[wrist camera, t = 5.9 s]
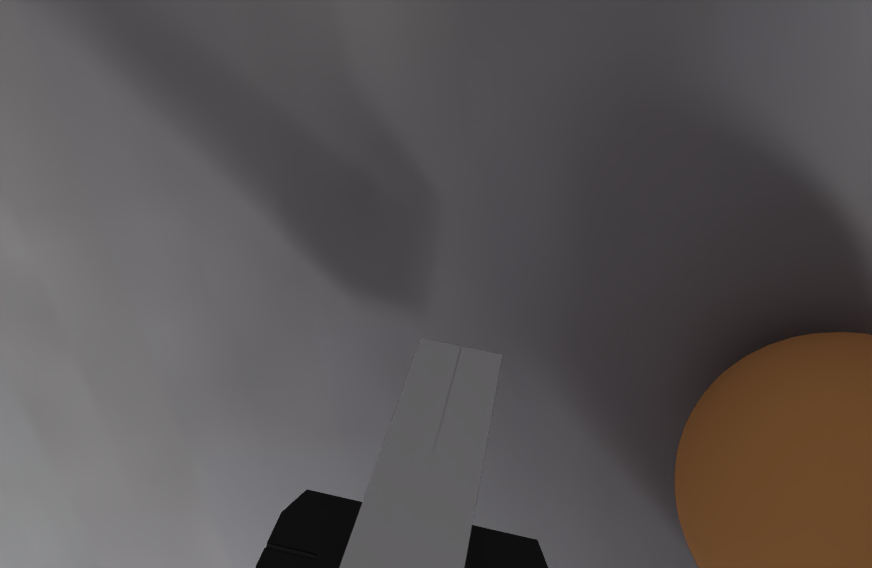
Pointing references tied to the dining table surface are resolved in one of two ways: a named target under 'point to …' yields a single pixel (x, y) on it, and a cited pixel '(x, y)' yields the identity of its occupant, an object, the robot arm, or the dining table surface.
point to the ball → (782, 458)
